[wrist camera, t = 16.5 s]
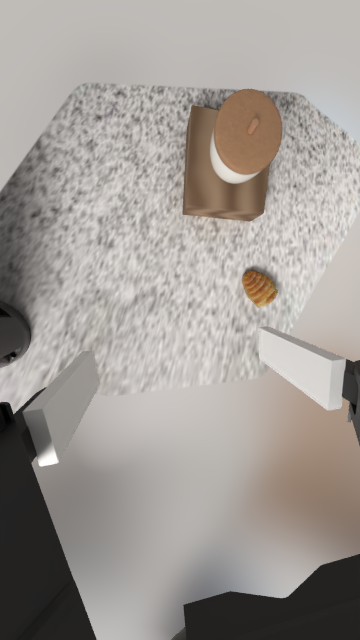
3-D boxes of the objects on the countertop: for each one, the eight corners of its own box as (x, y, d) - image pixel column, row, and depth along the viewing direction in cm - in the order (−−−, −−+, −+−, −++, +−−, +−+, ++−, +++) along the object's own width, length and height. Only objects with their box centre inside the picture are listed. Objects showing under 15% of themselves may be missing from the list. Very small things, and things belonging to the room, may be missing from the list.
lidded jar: (216, 117, 35) (237, 58, 25) (265, 147, 37) (302, 102, 27) (194, 178, 36) (207, 142, 27) (243, 203, 38) (270, 178, 29)
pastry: (233, 283, 47) (240, 283, 43) (252, 263, 47) (261, 261, 43) (257, 308, 49) (265, 311, 46) (275, 289, 49) (285, 290, 45)
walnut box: (182, 215, 43) (186, 204, 37) (186, 131, 39) (191, 105, 34) (249, 221, 45) (263, 213, 39) (258, 142, 42) (275, 120, 36)
